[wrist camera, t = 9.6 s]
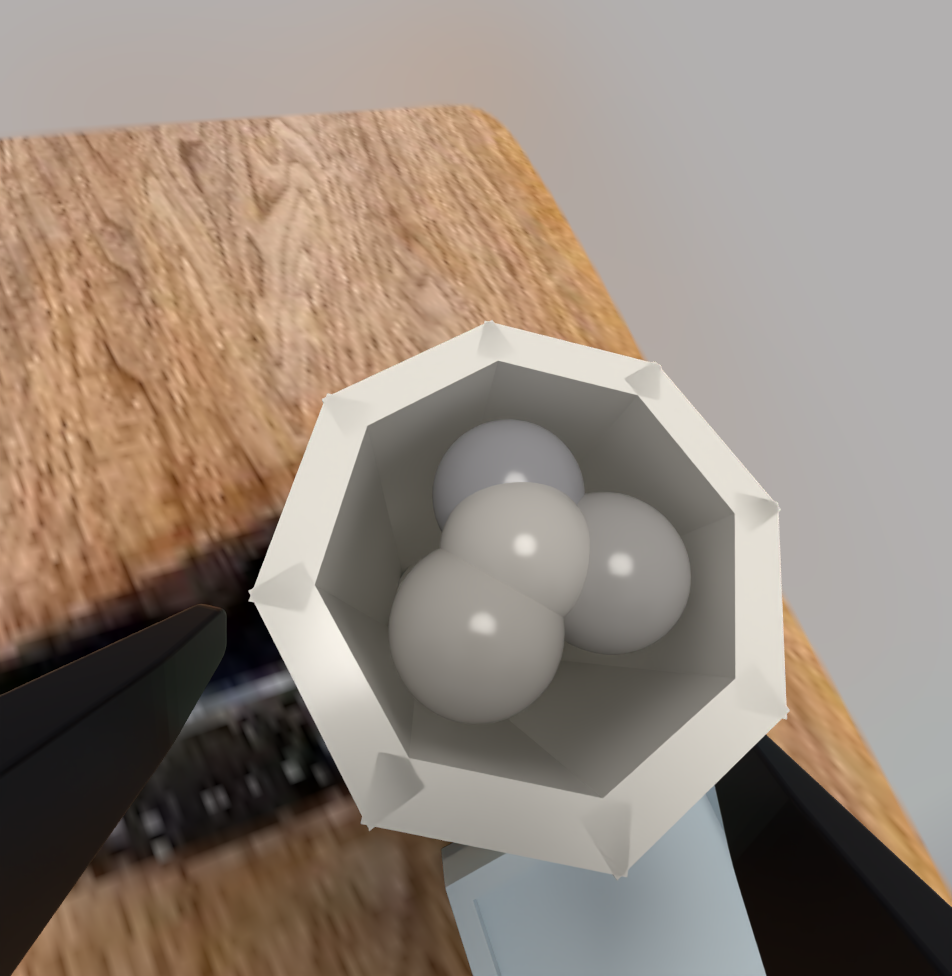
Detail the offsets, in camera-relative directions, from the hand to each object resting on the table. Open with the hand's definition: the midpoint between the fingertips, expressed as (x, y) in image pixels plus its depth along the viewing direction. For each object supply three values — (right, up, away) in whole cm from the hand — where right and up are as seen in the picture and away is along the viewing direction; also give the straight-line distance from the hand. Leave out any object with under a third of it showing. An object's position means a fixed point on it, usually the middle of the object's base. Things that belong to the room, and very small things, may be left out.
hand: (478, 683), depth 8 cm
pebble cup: (-1, -1, +9) cm, 9 cm away
